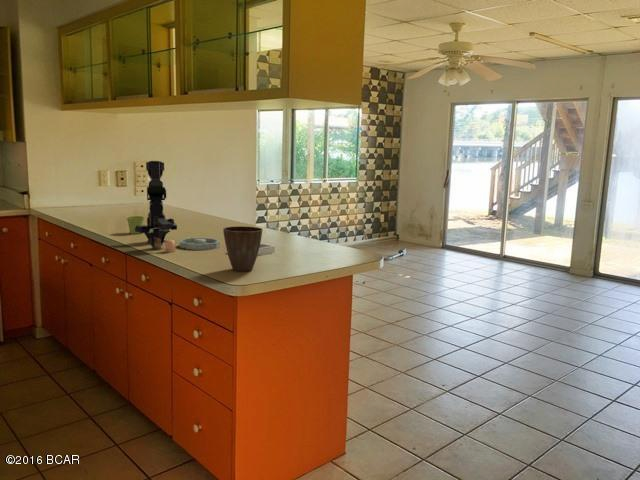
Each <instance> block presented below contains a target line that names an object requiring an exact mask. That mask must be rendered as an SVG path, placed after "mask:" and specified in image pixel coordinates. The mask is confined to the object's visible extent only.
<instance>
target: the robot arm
mask: <svg viewBox="0 0 640 480" xmlns="http://www.w3.org/2000/svg"><path fill="white" fill-rule="evenodd" d="M145 165H146V166H145V168H146V170H145V171H146V172H147V175H148V177H149V179H150V181H148V186H147V187H146V200H147V201H149V208H148V209H149V212H148V214H147V218H146V225H145V224H143V225H137V226H136V227H135V232H139V233H140V234H144V235H145V237H146V239H147V242H148V243H149V244H150V246H151V248H152V247H154V237H161V247H162V246H163V243H165V239H166V236H167V235H168V233H170V232H171V231H174V230H175V231H176V230H178V225H177V223H175V219H174V218H167V219H166V216H165V214H164V206H163V205H164V202H163V201H166V199H167V189H166V187H165V186H164V182H163V181H162V180H161V179H162V177H163V175H164V172H165V162H163V161H160V160H148V161H146V162H145Z"/></svg>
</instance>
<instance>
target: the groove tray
mask: <svg viewBox="0 0 640 480" xmlns="http://www.w3.org/2000/svg"><path fill="white" fill-rule="evenodd" d="M220 242H221V241H220V240H219V239H216V238H212V237H188V238H183V239H181V240H179V248H181V249H183V248H185V249H184V250H190V249H191V251H194V250H195V251H208V250H207V249H209V250H215V249H218V248H220V246H221V244H220Z"/></svg>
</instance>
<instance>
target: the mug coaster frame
mask: <svg viewBox="0 0 640 480" xmlns="http://www.w3.org/2000/svg"><path fill="white" fill-rule="evenodd" d="M275 248H276V246H275V245H272V244H266V243H261V242H260V248H259V251H258V255H257V257H258V256H263V255H270V254H275V250H276V249H275Z"/></svg>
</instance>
